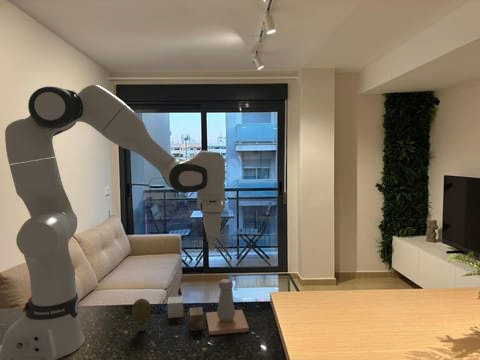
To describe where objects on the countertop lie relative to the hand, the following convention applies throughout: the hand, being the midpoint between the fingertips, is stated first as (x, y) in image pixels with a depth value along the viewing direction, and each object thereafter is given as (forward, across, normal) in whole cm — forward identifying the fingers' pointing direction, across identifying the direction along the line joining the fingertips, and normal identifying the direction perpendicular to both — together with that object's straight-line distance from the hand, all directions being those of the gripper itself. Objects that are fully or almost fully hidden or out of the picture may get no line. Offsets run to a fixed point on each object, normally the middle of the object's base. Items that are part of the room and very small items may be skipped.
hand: (210, 244), depth 115 cm
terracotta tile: (+24, +4, +5) cm, 25 cm away
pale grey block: (+25, -5, -11) cm, 28 cm away
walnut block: (+25, +4, -4) cm, 26 cm away
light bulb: (+25, +4, -21) cm, 33 cm away
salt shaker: (+24, +4, +5) cm, 24 cm away
